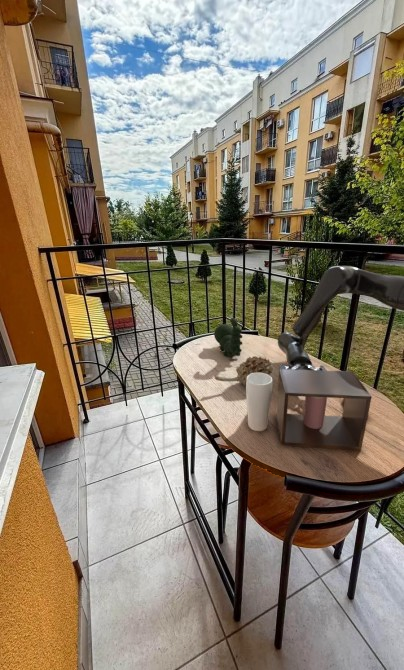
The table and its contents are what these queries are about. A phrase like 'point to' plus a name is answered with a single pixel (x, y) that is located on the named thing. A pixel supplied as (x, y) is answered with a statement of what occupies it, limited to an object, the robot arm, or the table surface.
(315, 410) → the pink canister
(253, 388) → the drinking glass
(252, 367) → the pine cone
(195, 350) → the table surface
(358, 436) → the cubby cabinet
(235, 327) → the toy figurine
